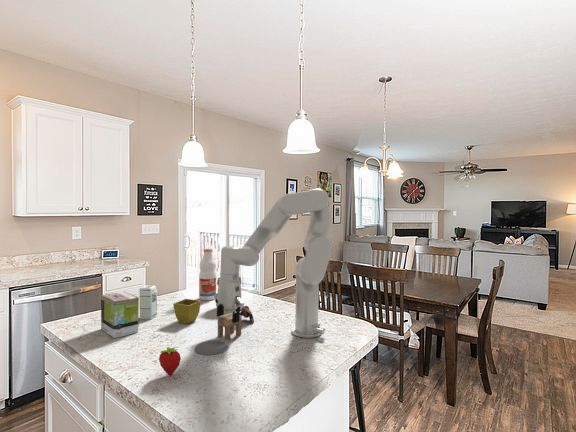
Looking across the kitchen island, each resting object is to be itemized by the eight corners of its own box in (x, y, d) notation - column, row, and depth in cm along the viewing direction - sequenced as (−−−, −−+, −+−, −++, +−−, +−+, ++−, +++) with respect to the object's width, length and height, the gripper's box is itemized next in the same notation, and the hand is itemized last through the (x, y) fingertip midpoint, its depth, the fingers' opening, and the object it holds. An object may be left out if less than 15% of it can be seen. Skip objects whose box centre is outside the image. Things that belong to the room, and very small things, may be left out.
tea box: (139, 332, 138) (139, 296, 137) (113, 339, 130) (113, 301, 130) (124, 323, 148) (124, 290, 148) (100, 329, 141) (100, 294, 140)
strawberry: (167, 383, 98) (167, 350, 98) (154, 375, 103) (154, 343, 103) (185, 376, 103) (185, 344, 103) (172, 368, 108) (172, 337, 108)
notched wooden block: (241, 335, 136) (241, 315, 136) (227, 340, 131) (227, 320, 130) (231, 331, 140) (231, 312, 140) (217, 336, 135) (217, 316, 134)
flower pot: (172, 323, 149) (172, 303, 149) (185, 317, 157) (185, 298, 157) (188, 326, 146) (188, 305, 145) (201, 320, 154) (201, 300, 153)
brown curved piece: (254, 327, 147) (245, 312, 145) (235, 335, 149) (226, 320, 147) (258, 312, 158) (249, 298, 157) (240, 319, 160) (232, 305, 158)
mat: (234, 347, 124) (234, 346, 124) (207, 358, 115) (207, 357, 115) (214, 338, 132) (214, 337, 132) (187, 348, 123) (187, 347, 123)
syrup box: (151, 319, 153) (152, 288, 153) (139, 319, 153) (139, 287, 153) (157, 315, 159) (157, 285, 158) (144, 315, 159) (144, 284, 158)
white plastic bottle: (212, 295, 195) (212, 247, 195) (218, 299, 188) (219, 249, 187) (196, 297, 190) (196, 248, 189) (202, 301, 182) (203, 250, 182)
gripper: (251, 279, 132) (249, 322, 133) (223, 272, 143) (221, 312, 144) (236, 282, 126) (234, 327, 127) (208, 274, 137) (207, 315, 138)
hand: (227, 319), depth 135 cm, fingers open, 9 cm apart
